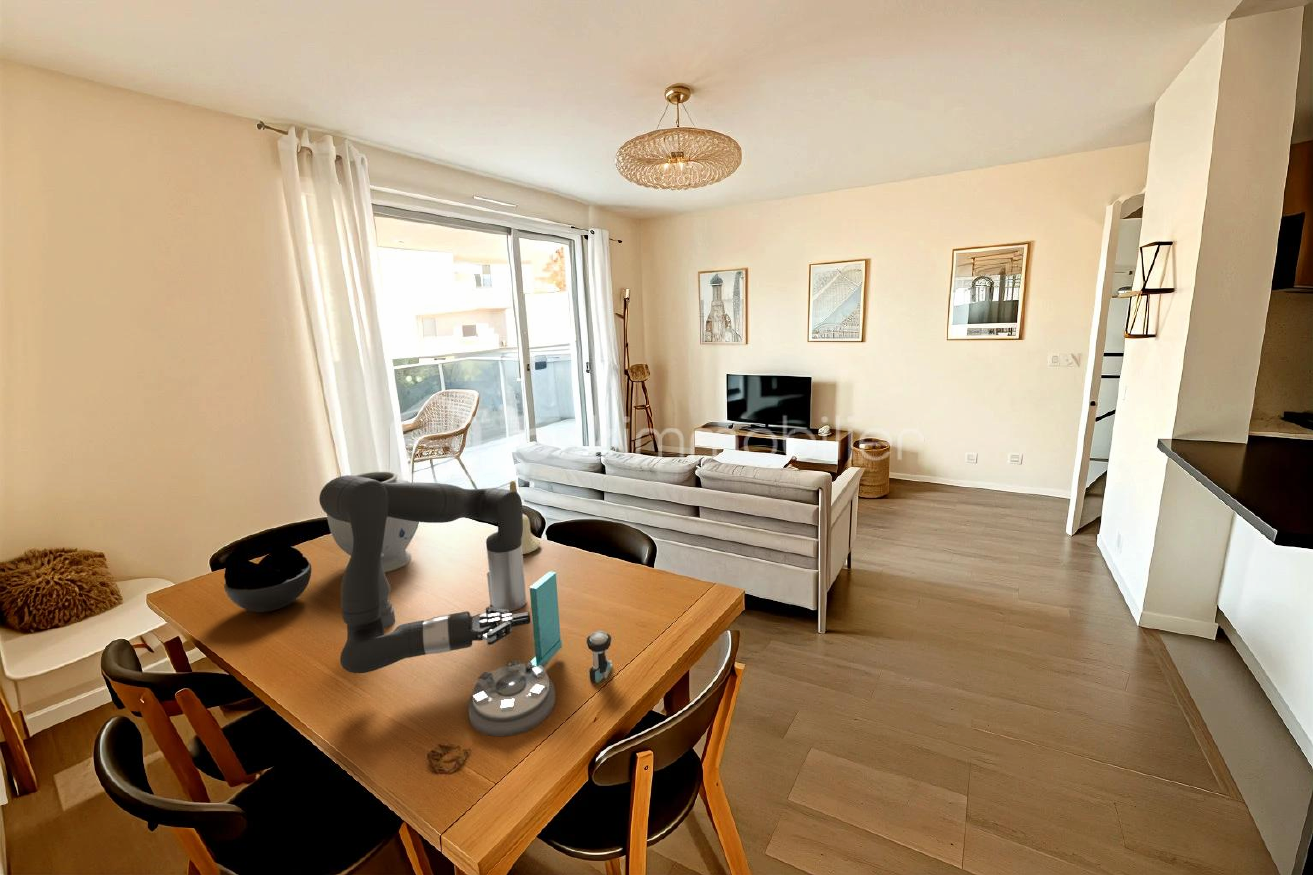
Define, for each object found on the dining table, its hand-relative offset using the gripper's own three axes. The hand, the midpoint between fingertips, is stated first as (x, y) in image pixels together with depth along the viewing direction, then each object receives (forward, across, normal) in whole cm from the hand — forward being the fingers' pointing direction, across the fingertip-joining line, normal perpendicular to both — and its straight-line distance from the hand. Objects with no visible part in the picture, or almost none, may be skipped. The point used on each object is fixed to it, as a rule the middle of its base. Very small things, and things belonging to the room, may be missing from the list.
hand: (529, 617), depth 121 cm
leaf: (-17, -24, +12) cm, 31 cm away
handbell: (+2, +68, +12) cm, 69 cm away
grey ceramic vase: (-42, +74, +12) cm, 86 cm away
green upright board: (-2, -9, +9) cm, 13 cm away
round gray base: (-5, -13, +12) cm, 18 cm away
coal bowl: (-67, +53, +12) cm, 86 cm away
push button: (+14, -10, +12) cm, 21 cm away
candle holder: (-36, +32, +12) cm, 50 cm away
